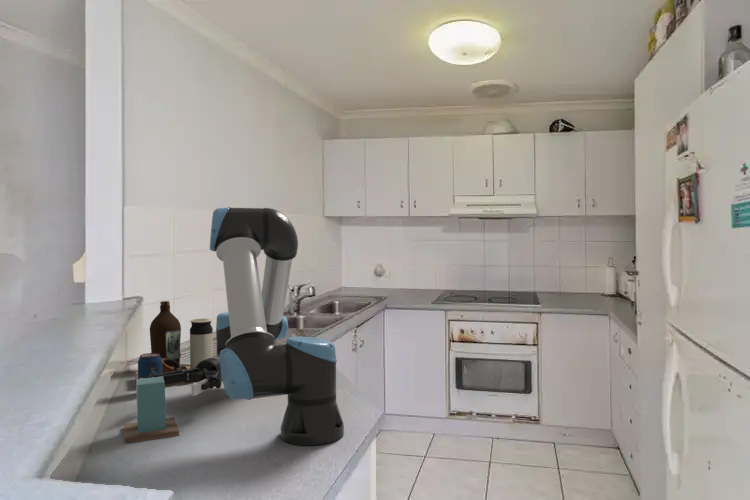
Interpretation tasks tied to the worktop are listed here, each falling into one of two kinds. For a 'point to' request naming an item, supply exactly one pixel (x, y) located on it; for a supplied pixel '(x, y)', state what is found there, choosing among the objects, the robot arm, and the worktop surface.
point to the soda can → (149, 365)
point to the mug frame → (173, 370)
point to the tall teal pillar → (150, 404)
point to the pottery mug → (169, 362)
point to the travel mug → (200, 341)
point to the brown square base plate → (134, 436)
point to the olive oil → (166, 334)
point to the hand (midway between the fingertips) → (169, 389)
